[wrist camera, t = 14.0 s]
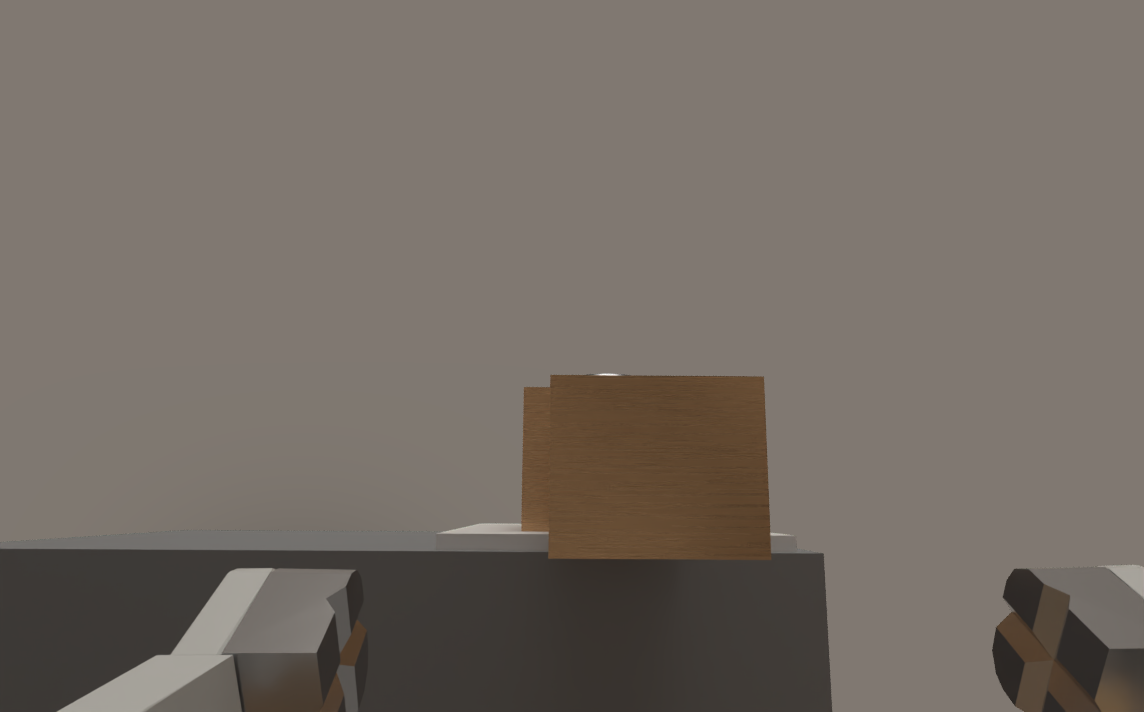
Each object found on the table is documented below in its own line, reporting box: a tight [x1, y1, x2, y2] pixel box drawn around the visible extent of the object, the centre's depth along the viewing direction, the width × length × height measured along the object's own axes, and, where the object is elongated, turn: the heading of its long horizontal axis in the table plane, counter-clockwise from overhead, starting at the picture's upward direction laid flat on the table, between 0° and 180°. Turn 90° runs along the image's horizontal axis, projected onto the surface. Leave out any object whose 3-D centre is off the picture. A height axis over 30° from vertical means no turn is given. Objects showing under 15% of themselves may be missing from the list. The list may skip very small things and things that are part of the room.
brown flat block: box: [521, 374, 771, 560], centre depth 19 cm, size 5×17×5 cm, turn 0°
